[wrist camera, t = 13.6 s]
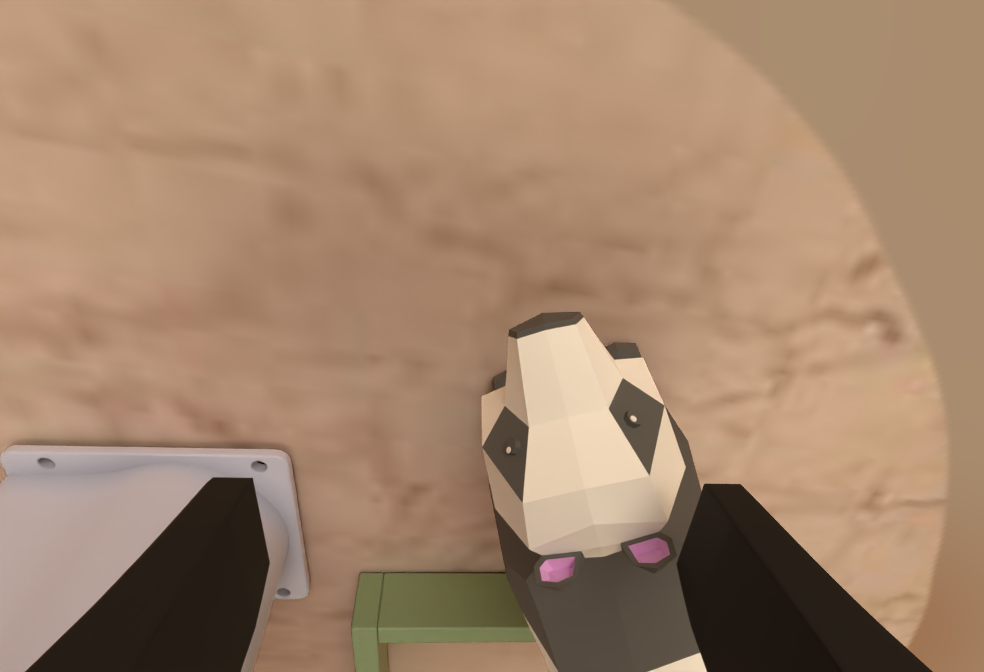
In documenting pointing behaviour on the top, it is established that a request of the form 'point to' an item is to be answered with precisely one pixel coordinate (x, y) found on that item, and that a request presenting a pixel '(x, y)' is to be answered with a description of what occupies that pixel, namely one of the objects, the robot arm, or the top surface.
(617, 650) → the giant panda
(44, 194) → the top surface
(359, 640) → the rim
